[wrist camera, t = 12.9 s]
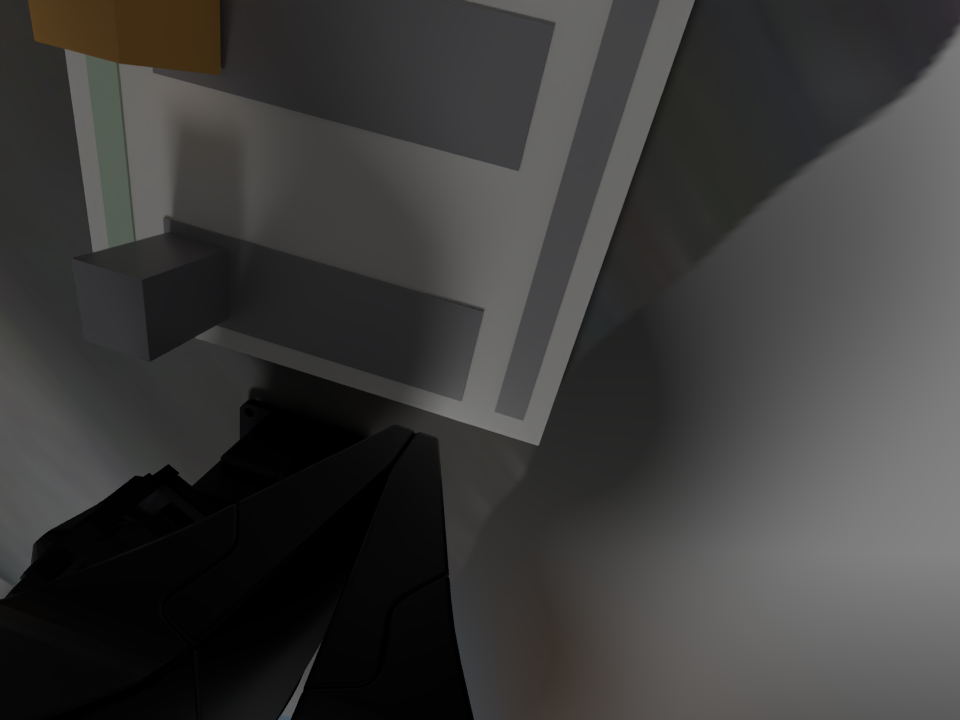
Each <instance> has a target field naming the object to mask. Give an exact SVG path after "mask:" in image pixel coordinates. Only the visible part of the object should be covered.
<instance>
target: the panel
mask: <svg viewBox="0 0 960 720" xmlns="http://www.w3.org/2000/svg"><path fill="white" fill-rule="evenodd" d="M694 1H695V0H220V47H221V75H215V74H206V73H197V72H188V71H179V70H171V69H162V68H153V67H144V66H135V65H127V64H119V63H115V62H112V61H108V60H104V59H100V58H97V57H93V56H89V55H86V54H82V53H78V52H74V51H71V50H67V49H65V54H66V62H67V69H68V76H69V83H70V90H71V98H72V105H73V112H74V119H75V126H76V134H77V141H78V148H79V155H80V162H81V170H82V177H83V184H84V191H85V198H86V206H87V213H88V220H89V227H90V234H91V242H92V249H93V253H89V254H85V255H82V256H78V257H74V258H71V260H72V266H73V272H74V278H75V285H76V291H77V297H78V303H79V310H80V316H81V322H82V328H83V334H84V341H86V342H90V343H93V344H96V345H99V346H102V347H105V348H108V349H111V350H114V351H118V352H121V353H124V354H127V355H130V356H133V357H136V358H139V359H142V360H146V361H149V362H150V361H152V360H154V359H156V358H158V357H159V356H161V355H163V354H165V353H167V352H169V351H170V350H172V349H174V348H176V347H178V346H180V345H181V344H183V343H185V342H187V341H189V340H191V339H192V338H197V339H200V340H203V341H206V342H209V343H213V344H216V345H219V346H222V347H225V348H229V349H232V350H235V351H238V352H241V353H244V354H248V355H251V356H254V357H257V358H260V359H264V360H267V361H270V362H273V363H276V364H279V365H283V366H286V367H289V368H292V369H295V370H299V371H302V372H305V373H308V374H311V375H314V376H318V377H321V378H324V379H327V380H330V381H334V382H337V383H340V384H343V385H346V386H349V387H353V388H356V389H359V390H362V391H365V392H369V393H372V394H375V395H378V396H381V397H385V398H388V399H391V400H394V401H397V402H400V403H404V404H407V405H410V406H413V407H416V408H420V409H423V410H426V411H429V412H432V413H435V414H439V415H442V416H445V417H448V418H451V419H455V420H458V421H461V422H464V423H467V424H470V425H474V426H477V427H480V428H483V429H486V430H490V431H493V432H496V433H499V434H502V435H505V436H509V437H512V438H515V439H518V440H521V441H525V442H528V443H531V444H534V445H537V446H538V445H539V442H540V440H541V437H542V434H543V431H544V428H545V425H546V423H547V420H548V417H549V414H550V411H551V408H552V405H553V403H554V400H555V397H556V394H557V391H558V388H559V386H560V383H561V380H562V377H563V374H564V371H565V368H566V366H567V363H568V360H569V357H570V354H571V351H572V348H573V346H574V343H575V340H576V337H577V334H578V331H579V329H580V326H581V323H582V320H583V317H584V314H585V311H586V309H587V306H588V303H589V300H590V297H591V294H592V292H593V289H594V286H595V283H596V280H597V277H598V274H599V272H600V269H601V266H602V263H603V260H604V257H605V254H606V252H607V249H608V246H609V243H610V240H611V237H612V235H613V232H614V229H615V226H616V223H617V220H618V217H619V215H620V212H621V209H622V206H623V203H624V200H625V197H626V195H627V192H628V189H629V186H630V183H631V180H632V178H633V175H634V172H635V169H636V166H637V163H638V160H639V158H640V155H641V152H642V149H643V146H644V143H645V141H646V138H647V135H648V132H649V129H650V126H651V123H652V121H653V118H654V115H655V112H656V109H657V106H658V103H659V101H660V98H661V95H662V92H663V89H664V86H665V84H666V81H667V78H668V75H669V72H670V69H671V66H672V64H673V61H674V58H675V55H676V52H677V49H678V47H679V44H680V41H681V38H682V35H683V32H684V29H685V27H686V24H687V21H688V18H689V15H690V12H691V9H692V7H693V4H694Z"/></svg>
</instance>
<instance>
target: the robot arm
mask: <svg viewBox="0 0 960 720" xmlns="http://www.w3.org/2000/svg"><path fill="white" fill-rule="evenodd" d="M250 409H252V411H253V412H252V411H251V410H250ZM352 442H355V443H356V444H353V443H352ZM178 474H179V472H178V471H176V470H175V469H174V468H173V467H171V466H170V465H169V464H168V465H167V466H165V467H164V468H162V469H161V470H160V471H158V472H157V473H155V474H154V475H151V474H150V473H148V474H147V475H145V476H144V477H140V476H134V477H133V478H132V479H130V480H129V481H128V482H127V483H125V484H124V485H123V486H121V487H120V488H119V489H118V490H116V491H115V492H114V493H112V494H111V495H110V496H108V497H107V498H106V499H104V500H103V501H101V502H100V503H98V504H97V505H95V506H93V507H92V508H90V509H88V510H86V511H84V512H82V513H81V514H79V515H77V516H75V517H73V518H71V519H70V520H68V521H66V522H64V523H62V524H60V525H59V526H57V527H55V528H53V529H51V530H50V531H48V532H47V533H45V534H44V535H43V536H42V537H41V538H39V539H38V540H37V541H36V542H35V543H34V545H33V551H32V559H31V566H30V567H29V568H28V569H27V570H26V571H25V572H24V573H23V574H22V576H21V577H20V580H21V581H20V582H19V583H18V584H17V585H16V586H15V587H14V588H13V589H12V590H11V591H10V592H9V593H8V595H7V596H6V597H5V598H4V599H0V720H278V718H279V717H280V715H281V714H282V713H283V711H284V709H285V708H286V706H287V705H288V703H289V701H290V700H291V698H292V696H293V694H294V692H295V690H296V689H297V687H298V685H299V683H300V680H301V678H302V676H303V673H304V671H305V669H306V668H307V666H308V664H309V662H310V661H311V659H312V657H313V656H314V654H315V652H316V650H317V649H318V647H319V645H320V644H321V646H320V648H319V651H318V653H317V656H316V658H315V661H314V663H313V666H312V668H311V671H310V673H309V676H308V678H307V681H306V683H305V686H304V690H303V693H302V694H301V696H300V699H299V701H298V704H297V706H296V708H295V711H294V713H293V715H292V718H291V720H474V718H473V713H472V709H471V704H470V700H469V696H468V691H467V687H466V682H465V678H464V673H463V669H462V665H461V660H460V654H459V649H458V644H457V639H456V633H455V627H454V619H453V610H452V603H451V591H450V579H449V577H448V576H449V568H448V555H447V542H446V529H445V516H444V503H443V490H442V477H441V464H440V451H439V440H438V438H437V437H435V436H431V435H428V434H425V433H422V432H418V433H416V432H415V431H414V430H412V429H409V428H406V427H403V426H400V425H393V426H391V427H389V428H387V429H385V430H382V431H380V432H378V433H376V434H374V435H372V436H370V437H368V438H366V439H365V438H364V437H363V436H362V435H360V434H358V433H355V432H352V431H349V430H345V429H342V428H339V427H336V426H333V425H330V424H327V423H324V422H321V421H317V420H314V419H311V418H308V417H305V416H302V415H299V414H296V413H293V412H289V411H286V410H283V409H280V408H277V407H274V406H271V405H268V404H265V403H262V402H258V401H255V400H248V401H246V402H245V403H244V404H243V405H242V406H241V407H240V440H239V441H238V442H237V443H235V444H234V445H233V446H232V447H231V448H230V449H229V450H228V451H227V452H225V453H224V454H223V455H222V457H221V460H220V461H219V462H218V463H217V464H216V465H215V466H214V467H213V468H211V469H210V470H209V471H208V472H207V473H206V474H205V475H204V476H203V477H202V478H200V479H199V480H198V481H197V482H196V483H195V484H194V485H193V486H191V485H190V484H188V483H187V482H186V481H185V480H183V479H182V478H181V477H180V476H179V475H178ZM322 640H323V641H322ZM321 642H322V643H321Z"/></svg>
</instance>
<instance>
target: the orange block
mask: <svg viewBox="0 0 960 720" xmlns="http://www.w3.org/2000/svg"><path fill="white" fill-rule="evenodd" d="M28 3H29V9H30V15H31V21H32V27H33V33H34V40H35V41H37V42H41V43H45V44H48V45H52V46H56V47H60V48H63V49H67V50H71V51H74V52H78V53H82V54H86V55H89V56H93V57H97V58H100V59H104V60H108V61H112V62H115V63H119V64H127V65H135V66H144V67H153V68H162V69H171V70H179V71H188V72H197V73H206V74H215V75H221V47H220V0H28Z"/></svg>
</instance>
